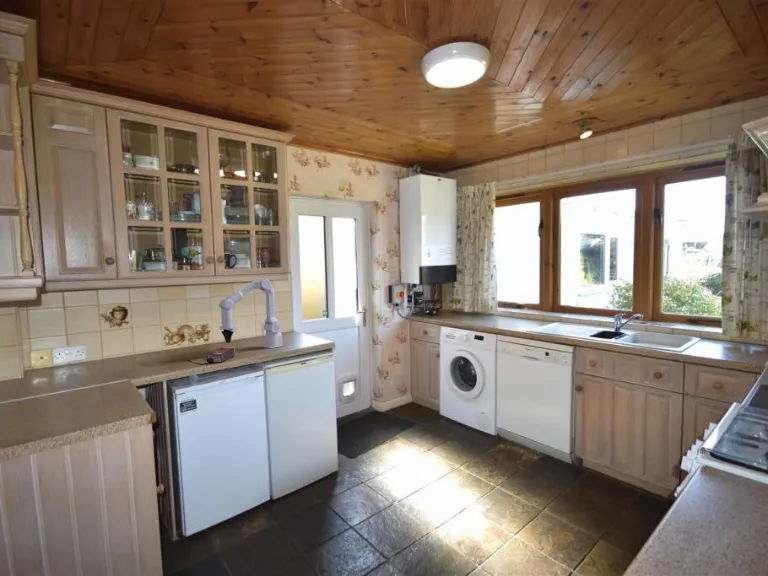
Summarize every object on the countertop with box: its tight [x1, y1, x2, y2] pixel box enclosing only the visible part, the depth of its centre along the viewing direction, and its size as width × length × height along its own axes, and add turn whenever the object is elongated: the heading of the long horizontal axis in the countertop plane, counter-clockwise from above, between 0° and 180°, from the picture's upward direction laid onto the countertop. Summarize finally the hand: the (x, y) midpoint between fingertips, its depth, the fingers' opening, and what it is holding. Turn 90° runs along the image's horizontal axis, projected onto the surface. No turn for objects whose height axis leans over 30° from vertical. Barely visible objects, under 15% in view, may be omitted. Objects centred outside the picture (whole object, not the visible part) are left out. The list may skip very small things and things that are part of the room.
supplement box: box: [206, 347, 236, 363], centre depth 215 cm, size 9×5×16 cm
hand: (228, 342), depth 224 cm, fingers closed
